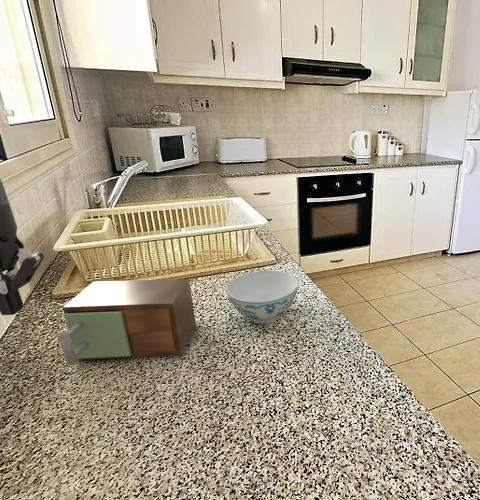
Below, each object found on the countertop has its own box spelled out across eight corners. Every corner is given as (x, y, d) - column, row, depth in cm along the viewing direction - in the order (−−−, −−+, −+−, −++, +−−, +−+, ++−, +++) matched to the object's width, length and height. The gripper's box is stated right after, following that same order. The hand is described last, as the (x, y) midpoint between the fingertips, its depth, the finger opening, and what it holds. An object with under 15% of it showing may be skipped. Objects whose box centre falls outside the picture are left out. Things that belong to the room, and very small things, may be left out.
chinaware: (218, 313, 84) (214, 282, 81) (276, 293, 93) (274, 265, 90) (250, 343, 73) (247, 309, 70) (312, 317, 82) (311, 286, 80)
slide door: (60, 377, 62) (45, 330, 59) (78, 356, 67) (66, 313, 64) (117, 373, 63) (106, 328, 60) (131, 354, 68) (121, 311, 65)
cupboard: (78, 360, 68) (62, 307, 64) (105, 329, 77) (93, 281, 73) (181, 355, 69) (172, 303, 66) (196, 325, 79) (189, 278, 75)
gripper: (41, 196, 56) (72, 299, 62) (-56, 198, 54) (-16, 302, 61) (4, 209, 49) (42, 323, 55) (-110, 211, 47) (-57, 328, 54)
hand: (12, 312), depth 58 cm, fingers closed
